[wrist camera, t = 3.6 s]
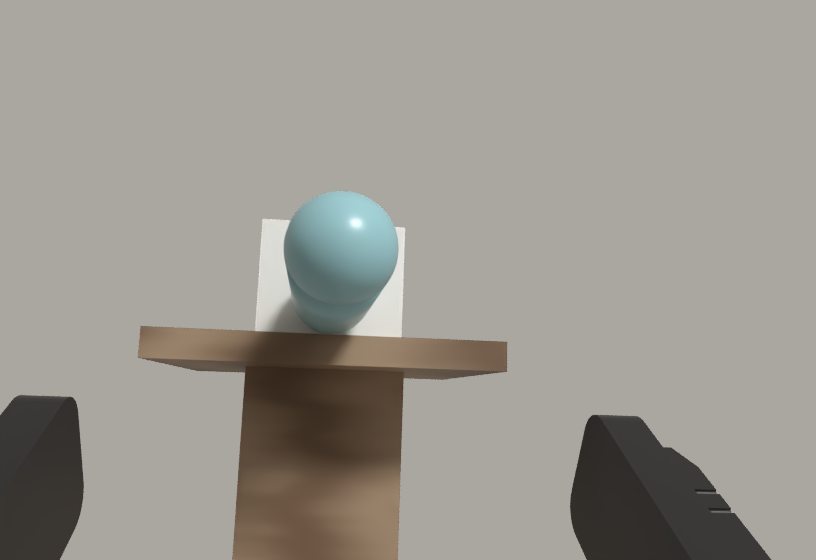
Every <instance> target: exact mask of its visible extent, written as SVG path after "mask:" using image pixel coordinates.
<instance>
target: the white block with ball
mask: <svg viewBox="0 0 816 560" xmlns="http://www.w3.org/2000/svg"><path fill="white" fill-rule="evenodd" d="M404 245H405V228H401V227H394V225H393V223H392V221H391V219H390V217H389V216H388V215H387V213H386V212H385V211H384V209H382V208H381V207H380V206H379V205H378V204H377V203H376V202H374V201H373V200H371V199H369V198H368V197H366V196H363V195H360V194H358V193H354V192H347V191H333V192H329V193H324V194H321V195H319V196H316V197H314V198H312V199H311V200H310V201H308V202H306V203H305V204H304V205H303V206H302V207H301V208H300V209H299V210H298V211H297V212H296V213H295V215H294V216H293V218H292V219H291V221H289V220H273V219H272V220H271V219H263V221H262V236H261V250H260V265H259V280H258V295H257V310H256V325H255V331H265V332H288V333H311V334H335V335H358V336H381V337H401V335H402V334H401V333H402V304H403V274H404Z"/></svg>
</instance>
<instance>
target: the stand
mask: <svg viewBox="0 0 816 560" xmlns="http://www.w3.org/2000/svg"><path fill="white" fill-rule="evenodd" d="M138 358H142V359H146V360H151V361H155V362H160V363H165V364H169V365H174V366H178V367H183V368H187V369H191V370H196V371H219V372H245V385H244V398H243V413H242V428H241V442H240V457H239V471H238V486H237V501H236V516H235V530H234V545H233V558H232V560H398V559H397V558H398V530H399V500H400V469H401V468H400V466H401V438H402V435H401V434H402V407H403V378H414V379H442V380H443V379H450V378H458V377H467V376H475V375H483V374H491V373H498V372H507V342H497V341H473V340H449V339H426V338H404V337H381V336H358V335H335V334H311V333H288V332H265V331H242V330H241V331H240V330H218V329H217V330H216V329H196V328H173V327H149V326H148V327H147V326H141V329H140V340H139V350H138Z"/></svg>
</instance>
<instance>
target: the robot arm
mask: <svg viewBox="0 0 816 560" xmlns="http://www.w3.org/2000/svg"><path fill="white" fill-rule="evenodd" d="M83 488H84V484H83V471H82V457H81V444H80V432H79V419H78V409H77V404H76V401H75V400H74V398H72V397H55V396H26V395H19V396H17V397H15V398H14V399H13V400H12V401H11V403H10V404H9V405H8V406H7V408H6V409H5V410H4V412H3V413H2V414H1V415H0V560H60V558H61V556H62V554H63V551H64V549H65V548H66V546H67V544H68V542H69V540H70V538H71V535H72V534H73V532H74V529H75V527H76V525H77V522H78V519H79V516H80V512H81V507H82V501H83ZM570 508H571V509H570V510H571V520H572V525H573V529H574V532H575V535H576V537H577V539H578V541H579V544H580V546H581V548H582V550H583V552H584V555H585V557H586V559H587V560H771V559H770V558H769V556H768V555H767V554H766V553H765V551H764V550H763V549H762V547H761V546H760V545H759V544H758V542H757V541H756V540H755V539H754V537H753V536H752V535H751V533H750V532H749V531H748V530H747V528H746V527H745V526H744V525H743V523H742V522H741V521H740V519H739V518H738V517H737V516H736V514H735V513H731V510H730V509H731V508H730V507H729V506H728V504H727V503H726V502H725V501H724V499H723V498H722V497H721V495H720V494H716V489H715V488H714V486H713V485H712V484H711V483H710V481H709V480H708V479H707V478H706V477H705V475H704V474H703V473H702V471H701V470H700V469H699V467H697V466H696V465H694V464H693V463H692V462H690V461H689V460H688V459H686V458H685V457H683V456H682V455H681V454H679V453H678V452H676V451H675V450H674V449H672V448H663V447H662V445H661V444H660V443H659V441H658V440H657V439H656V437H655V436H654V435H653V434H652V432H651V431H650V429H649V428H648V427H647V425H646V424H645V423H644V421H643V420H642V419H641V418H639V417H637V416H613V415H611V416H610V415H592V416H591V417H590V418H589V420H588V421H587V424H586V427H585V431H584V436H583V440H582V445H581V450H580V455H579V460H578V464H577V469H576V473H575V478H574V483H573V488H572V493H571V503H570Z"/></svg>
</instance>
